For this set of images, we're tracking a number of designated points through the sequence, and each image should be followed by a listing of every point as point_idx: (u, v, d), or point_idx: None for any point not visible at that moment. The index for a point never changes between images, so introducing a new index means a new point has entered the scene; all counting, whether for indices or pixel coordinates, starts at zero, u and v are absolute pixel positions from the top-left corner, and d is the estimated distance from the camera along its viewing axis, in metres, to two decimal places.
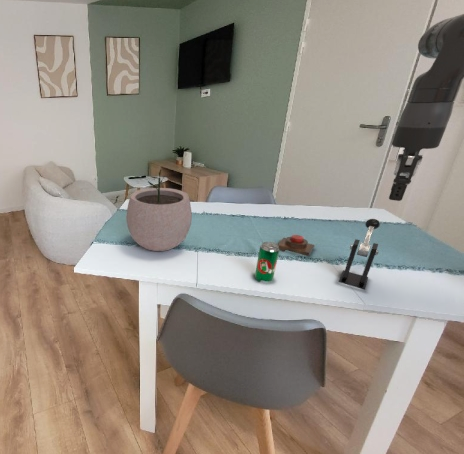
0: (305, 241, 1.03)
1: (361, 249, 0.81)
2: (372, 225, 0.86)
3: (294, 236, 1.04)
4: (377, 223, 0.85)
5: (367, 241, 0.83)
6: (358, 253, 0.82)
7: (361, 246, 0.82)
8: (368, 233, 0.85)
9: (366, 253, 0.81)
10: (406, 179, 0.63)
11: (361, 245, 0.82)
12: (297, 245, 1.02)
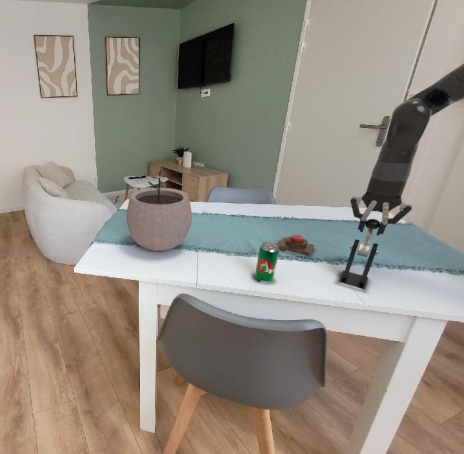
0: (305, 241, 1.03)
1: (361, 249, 0.81)
2: (372, 225, 0.86)
3: (294, 236, 1.04)
4: (377, 223, 0.85)
5: (367, 241, 0.83)
6: (358, 253, 0.82)
7: (361, 246, 0.82)
8: (368, 233, 0.85)
9: (366, 253, 0.81)
10: None
11: (361, 245, 0.82)
12: (297, 245, 1.02)
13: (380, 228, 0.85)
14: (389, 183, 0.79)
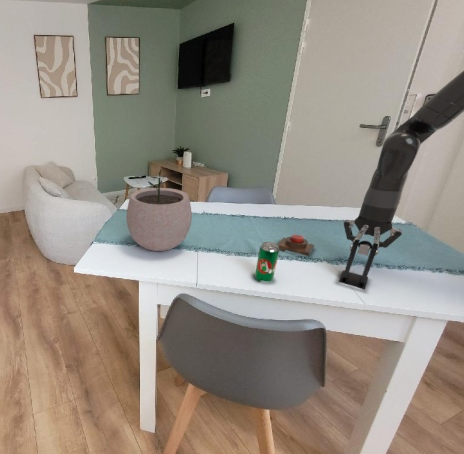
0: (305, 241, 1.03)
1: (362, 245, 0.81)
2: (366, 243, 0.89)
3: (294, 236, 1.04)
4: (370, 243, 0.89)
5: None
6: (359, 251, 0.82)
7: (361, 245, 0.82)
8: None
9: (367, 250, 0.81)
10: None
11: (361, 244, 0.83)
12: (297, 245, 1.02)
13: None
14: (380, 209, 0.82)
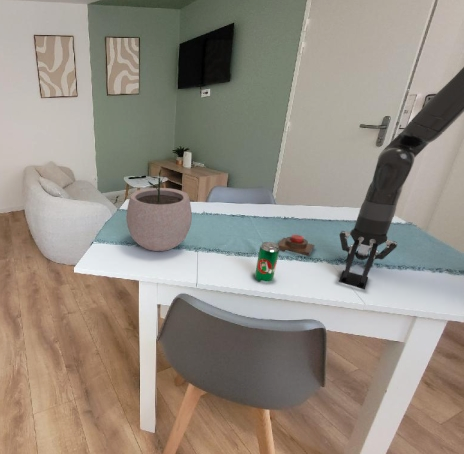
0: (305, 241, 1.03)
1: (362, 244, 0.82)
2: None
3: (294, 236, 1.04)
4: None
5: None
6: (359, 249, 0.82)
7: None
8: None
9: (368, 248, 0.81)
10: None
11: None
12: (297, 245, 1.02)
13: None
14: (375, 222, 0.83)
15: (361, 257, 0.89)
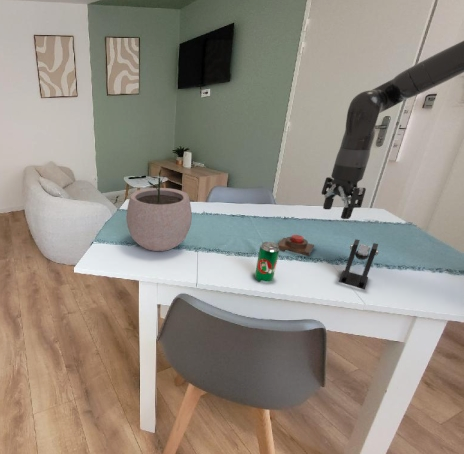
0: (305, 241, 1.03)
1: (362, 244, 0.82)
2: None
3: (294, 236, 1.04)
4: None
5: None
6: (359, 249, 0.82)
7: None
8: None
9: (368, 248, 0.81)
10: None
11: None
12: (297, 245, 1.02)
13: (343, 211, 0.89)
14: (338, 167, 0.87)
15: (361, 257, 0.89)
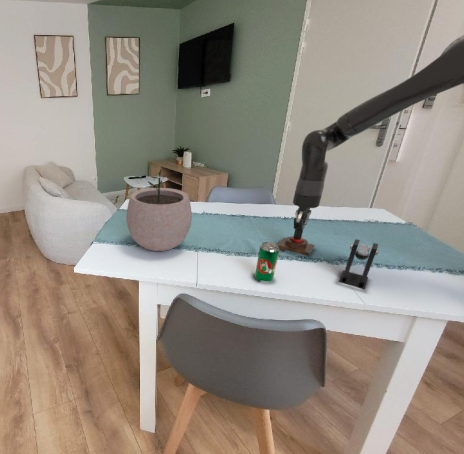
0: (305, 241, 1.03)
1: (362, 244, 0.82)
2: None
3: None
4: None
5: None
6: (359, 249, 0.82)
7: None
8: None
9: (368, 248, 0.81)
10: None
11: None
12: (297, 245, 1.02)
13: None
14: None
15: (361, 257, 0.89)
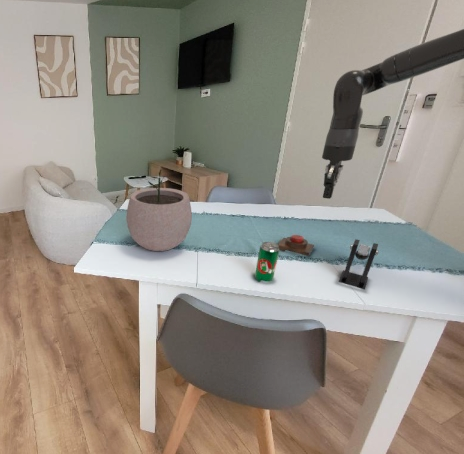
0: (305, 241, 1.03)
1: (362, 244, 0.82)
2: None
3: (294, 236, 1.04)
4: None
5: None
6: (359, 249, 0.82)
7: None
8: None
9: (368, 248, 0.81)
10: None
11: None
12: (297, 245, 1.02)
13: None
14: (324, 146, 0.91)
15: (361, 257, 0.89)
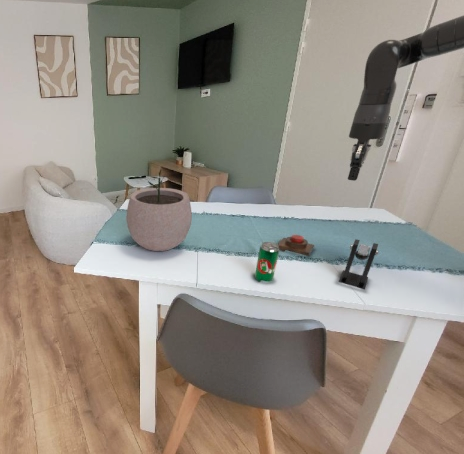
0: (305, 241, 1.03)
1: (362, 244, 0.82)
2: None
3: (294, 236, 1.04)
4: None
5: None
6: (359, 249, 0.82)
7: None
8: None
9: (368, 248, 0.81)
10: None
11: None
12: (297, 245, 1.02)
13: (349, 172, 0.90)
14: (352, 124, 0.86)
15: (361, 257, 0.89)
